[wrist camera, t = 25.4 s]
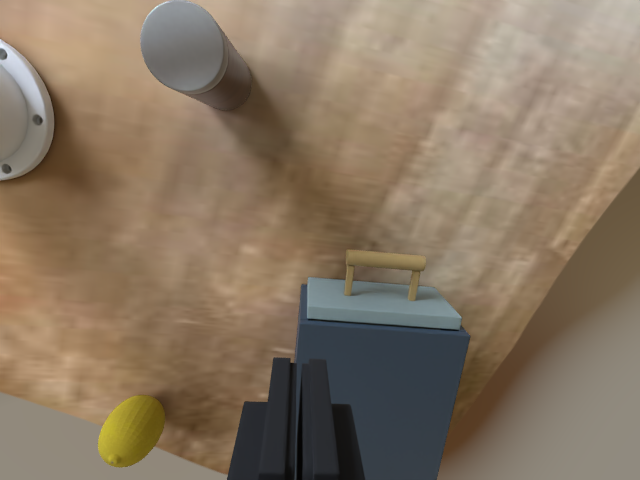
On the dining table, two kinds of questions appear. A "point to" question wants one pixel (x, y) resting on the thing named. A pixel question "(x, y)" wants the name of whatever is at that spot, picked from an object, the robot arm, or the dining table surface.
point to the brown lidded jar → (194, 55)
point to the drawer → (380, 296)
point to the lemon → (131, 431)
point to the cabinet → (388, 389)
